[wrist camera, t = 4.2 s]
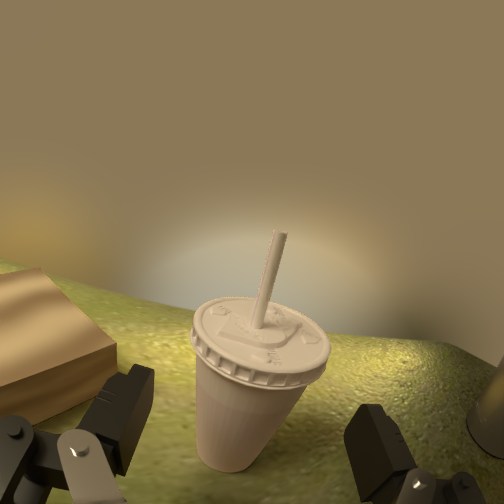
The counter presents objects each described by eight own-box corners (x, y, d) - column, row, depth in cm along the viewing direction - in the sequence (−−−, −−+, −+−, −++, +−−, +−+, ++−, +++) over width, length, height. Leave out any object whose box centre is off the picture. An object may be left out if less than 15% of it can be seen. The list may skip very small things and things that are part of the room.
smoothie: (159, 426, 16) (186, 205, 12) (240, 406, 19) (294, 220, 16) (206, 504, 11) (282, 259, 7) (294, 466, 15) (394, 262, 11)
